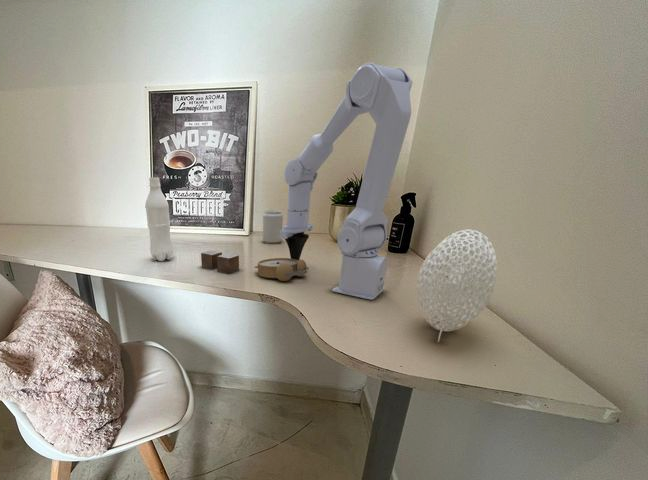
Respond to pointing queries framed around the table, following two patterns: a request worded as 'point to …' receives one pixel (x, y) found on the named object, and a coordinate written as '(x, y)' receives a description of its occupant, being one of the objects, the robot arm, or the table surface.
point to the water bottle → (158, 222)
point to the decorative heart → (456, 280)
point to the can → (272, 226)
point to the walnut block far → (210, 259)
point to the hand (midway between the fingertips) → (294, 260)
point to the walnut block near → (228, 263)
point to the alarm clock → (281, 268)
